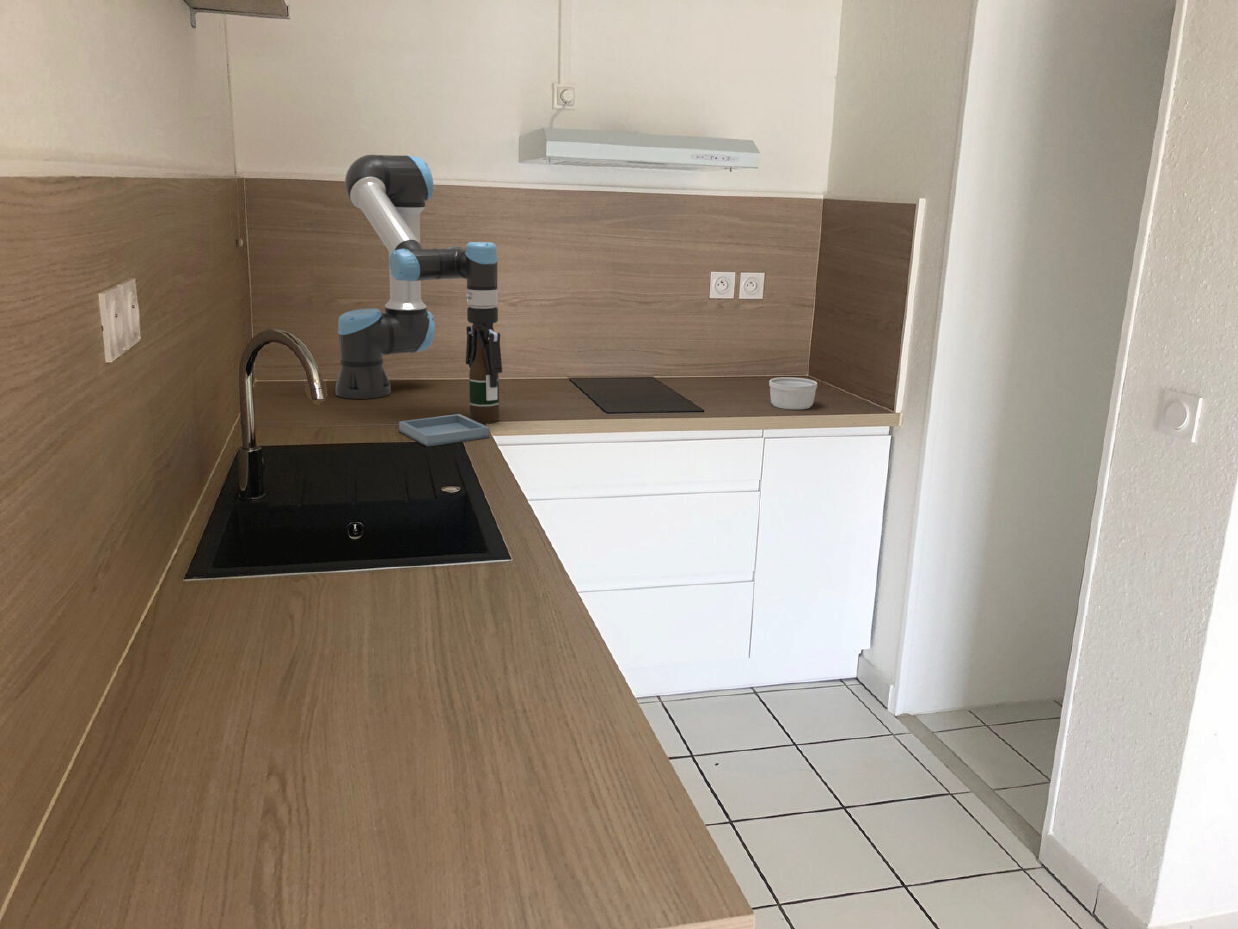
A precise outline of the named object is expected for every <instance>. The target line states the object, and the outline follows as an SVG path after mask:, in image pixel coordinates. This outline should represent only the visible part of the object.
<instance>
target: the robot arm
mask: <svg viewBox="0 0 1238 929" xmlns="http://www.w3.org/2000/svg"><path fill="white" fill-rule="evenodd" d="M344 181H345V182H344V186H345V191H346V195H347V197H348V198H349V200H350V202H351V203H352V204H353V206H354V207H355V208H357V209H358V210H359V209H360V210H361V211H362V213H363V215H365V217H366V219H367V220H368V222H369V223H370V225H371V226H372V228H373V229H374V231H375V232H376V234H377V235H378V236H379V239H380V240H381V241H382V243H383V244H384V246H385V248H386V249H387V251H388V262H389V263H388V265H389V266H388V268H389V271H388V272H389V300H388V301H387V302H386V303H385V305H384V312H383V313H382V311H381V310H380V309H379V308H373V307H371V308H359V309H355V310H350V311H349V310H348V311H347V312H344V313H342V314H340V316H339V317H338V321H337V322H338V327H337V328H338V329H337V333H338V346H339V360H340V361H339V362H340V367H339V368H340V369H339V373H338V376H337V379H336V384H335V396H337V397H340V398H343V399H352V400H359V399H360V400H367V399H368V400H369V399H377V398H381V397H386V396H388V395H390V394H392V388H391V383H390V380H389V378H388V374H387V372H386V369H385V367H384V356H385V355H386V356H387V355H388V356H389V355H396V354H406V353H407V354H408V353H411V354H414V353H416V352H423V351H426V350H427V349H429V348H430V346H431V345H432V343H433V340H434V338H435V332H436V322H435V321H434V315H433V314H432V313H431V311H429V310H428V309H427V304H426V303H424V302H423V300H422V288H421V287H422V282H421V281H432V280H434V281H435V280H456V279H459V280H466V293H465V297H466V299H467V300H466V301H467V304H466V305H468V307H467V309H466V310H467V317H466V318H467V322H468V323H469V324H472V326H466V348H465V350H466V351H465V352H466V353H465V364H466V365H468V366H469V368H470V367H471V364H472V363H473V361H474V360H475V357H476V348H477V335H478V338H479V340H480V345H481V348H482V349H483V351H484V356H485V361H486V366H487V371H488V372H487V373H485V374H486V400H487V401H489V400H498V398H497V374H498V375H499V374H502V373H503V363H502V362H503V361H502V354H501V352H502V351H501V333H500V332H496V331H495V329H494V324H496V323H497V322H498V321H499V308H498V307H497V306H498V304H499V295H498V294H499V293H498V260H499V258H498V252H497V250H498V249H497V245H496V244H495V243H494V242H489V241H488V242H487V241H486V242H485V241H471V242H468V243H466V246H465V248H464V247H462V246H452V247H451V246H450V247H447V248H446V247H445V248H424V247H423V246H422V244H421V227H420V226H421V222H420V220H421V217H420V215H421V213H422V212H423V211H424V210H425V208H426V202H427V201H428V200H431V198H432V196H433V193H434V178H433V175H432V172H431V169H430V167H429V165H428V163H427V162H426V161H425V159H423V158H421V157H420V156H419V157H418V156H413V155H407V154H406V155H391V154H389V155H388V154H387V155H386V154H385V155H384V154H383V155H382V154H367V155H366V154H365V155H363V156H361V157H359V158H357V159H356V160H354V162H353V163H351V164H350V166H349V167H348V169H347V172H346V174H345V179H344ZM477 327H480V328H481V331H478V332H477V331H476V328H477Z"/></svg>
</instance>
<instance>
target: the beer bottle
mask: <svg viewBox="0 0 1238 929" xmlns="http://www.w3.org/2000/svg"><path fill="white" fill-rule="evenodd" d="M476 331H477V332H478V331H481V328H480V327H477V328H476ZM487 372H488V371H487V366H486V361H485V356H484V351H483V349H482V348H481V345H480V340H479V338H478V335H477V348H476V357H475V360H474V361H473V363H472V364H471V367H469V374H468V376H469V378H468V382H469V384H468V385H469V414H470V416H469V417H470V418H469V419H472V420H474V421H476V422H478V423H480V424H482V425H483V424H494V423H498V422H499V421H500V420H499V419H500V390H499V389H500V384H499V383H500V381H499V380H500V379H499V374H497V398H498V400H489V401H487V400H486V374H485V373H487Z"/></svg>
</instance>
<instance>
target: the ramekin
mask: <svg viewBox="0 0 1238 929" xmlns="http://www.w3.org/2000/svg"><path fill="white" fill-rule="evenodd" d="M768 385H769V393H770V402H771V404H772V405H773V406H774V407H775V408H778V409H783V410H792V411H793V410H794V411H795V410H798V411H800V410H806V409H807V410H808V409H810V408H811V407H812V406H813V404H814V401H815V396H816V390H817V388H818V382H817V381H815V380H812V379H808V378H802V377H787V376H786V377H775V378H771V379H770V380H769V383H768Z"/></svg>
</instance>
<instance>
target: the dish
mask: <svg viewBox="0 0 1238 929" xmlns="http://www.w3.org/2000/svg"><path fill="white" fill-rule="evenodd" d="M398 425H399V426H398V427H399V433H402V434H403V435H405V436H407V437H409V438H410V439H413V440H414V441H416V442H417V443H420V444H421V445H423V446H425V447H427V448H428V447H434V446H435V447H436V446H440V445H448V444H454V443H455V444H456V443H462V442H468V441H477V440H482V439H489V438H490V427H489V426H487V425H485V424H483V423H482V424H480V423H478V422H476V421H474V420H472V419H471V418H469V417H467V416H465V415H463V414H460V413H457V414H448V415H447V414H446V415H441V416H432V417H425V418H417V419H410V420H402V421H401V420H400V421H398Z"/></svg>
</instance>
